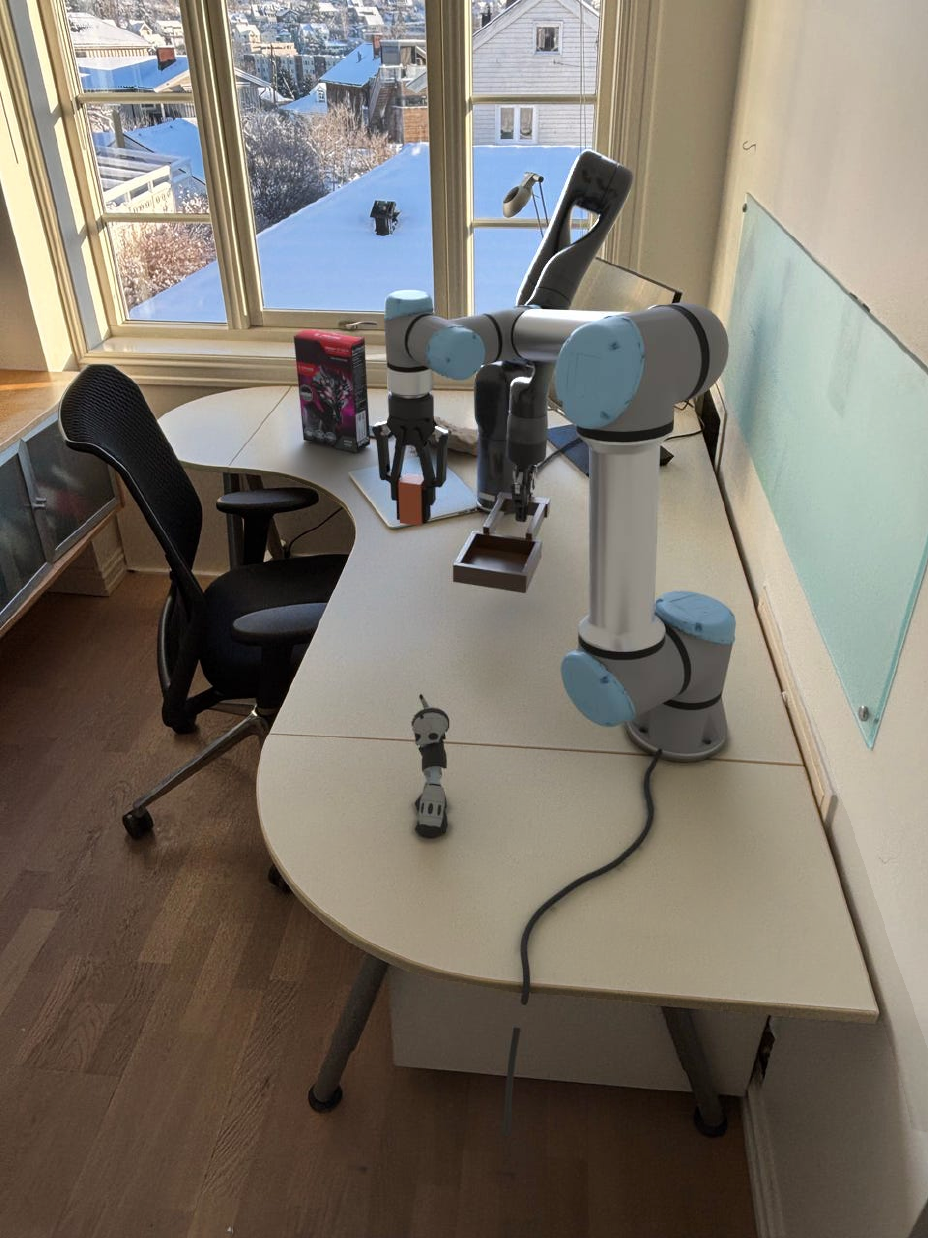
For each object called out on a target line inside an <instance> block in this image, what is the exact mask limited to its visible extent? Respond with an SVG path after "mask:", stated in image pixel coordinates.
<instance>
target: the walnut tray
mask: <svg viewBox="0 0 928 1238" xmlns="http://www.w3.org/2000/svg"><path fill="white" fill-rule="evenodd" d="M528 501H529V503H528V508H527V516H530V517H532V519H531V521H530V523H529V525H528V527H527V530H526V532H525V537H523V536H517V535H507V534H502V533H495V531H496V529H497V527H498V525H500V524H499V523H500V522H501V520H502V519H503V516H504V514H505V513H504V512H507V513H506V514H513V515H515V512H516V505H513V503H512V494H510V493H503V492H500V493H499V495H498V497H497V503H496V505H495V506H494V508H493V510H492V512H491V513H489V515H488V517H487V519H486V521H485V523H484V524H483V526H482V530H474V529H473V530H472V531H471V533H470V534H469V536H468V537H467V540H466V541H465V544H464V545H463V546H462V549H461V550H460V552H459V554H458V556H457V557H456V558H455V561H454V562H453V564H452V582H453V583H459V584H463V585H464V584H465V585H469V586H475V587H476V586H477V587H482V588H483V587H484V588H490V589H495V590H500V591H501V590H503V591H507V592H508V591H509V592H515V593H520V594H521V593H522V594H526V593H527V592H528V589H529V586H530V585H531V582H532V580H533V578H534V575H535V572H536V570H537V568H538V565H539V563H540V560H541V558H542V549H543V540H542V539H537V536H538V534H539V532H540V530H541V528H542V525H543V524H544V521H545V519H548V517H549V514H550V510H551V508H550V507H551V498H548V497H547V498H546V497H540V496H533V495H532V496H529V499H528Z"/></svg>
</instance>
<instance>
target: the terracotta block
mask: <svg viewBox="0 0 928 1238" xmlns="http://www.w3.org/2000/svg"><path fill="white" fill-rule="evenodd" d="M424 486H425V482H424V477H423V474H419V473H412V472H404V473H403V475H402V476H401V478H400V481H399V482H398V487H399V516H400V520H399V524H403V525H411V526H418V527H422V526H423V525H424V523H422V489H423V487H424Z"/></svg>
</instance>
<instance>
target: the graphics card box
mask: <svg viewBox="0 0 928 1238" xmlns="http://www.w3.org/2000/svg"><path fill="white" fill-rule="evenodd" d="M293 344H294V352H295V353H294V354H295V365H296V375H297V385H298V386H297V387H298V395H299V407H300V418H301V427H302V439H303V441H305V442H308V443H314V444H318V445H322V446H327V447H331V448H336V449H340V450H344V451H348V452H354V453H359V452H360V451H361V450H363V449H365V448H367V447H369V446H370V445H371V433H370V412H369V399H368V380H367V378H368V377H367V376H368V375H367V359H366V357H367V356H366V339H365V337H358V336H352V335H346V334H342V333H336V332H330V331H325V330H319V329H313V328H305V329H303V330H301V331H299V332H297V333H295V335H294V336H293Z"/></svg>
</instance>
